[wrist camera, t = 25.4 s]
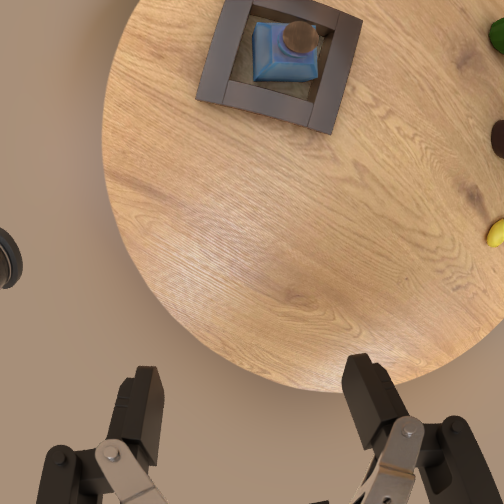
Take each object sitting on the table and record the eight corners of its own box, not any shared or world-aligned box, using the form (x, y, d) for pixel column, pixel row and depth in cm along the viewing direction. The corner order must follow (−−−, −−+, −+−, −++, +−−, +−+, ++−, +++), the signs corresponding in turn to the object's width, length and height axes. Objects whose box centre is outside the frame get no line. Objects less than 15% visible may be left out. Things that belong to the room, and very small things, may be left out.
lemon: (506, 226, 45) (519, 234, 42) (482, 247, 47) (495, 256, 43) (505, 209, 43) (518, 217, 40) (480, 229, 45) (493, 238, 41)
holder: (198, 100, 34) (195, 99, 30) (232, -10, 27) (233, -21, 24) (321, 132, 36) (331, 135, 33) (351, 27, 30) (363, 20, 26)
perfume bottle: (303, 82, 33) (336, 71, 23) (253, 81, 33) (265, 68, 22) (302, 37, 31) (333, 10, 20) (252, 35, 30) (263, 5, 20)
